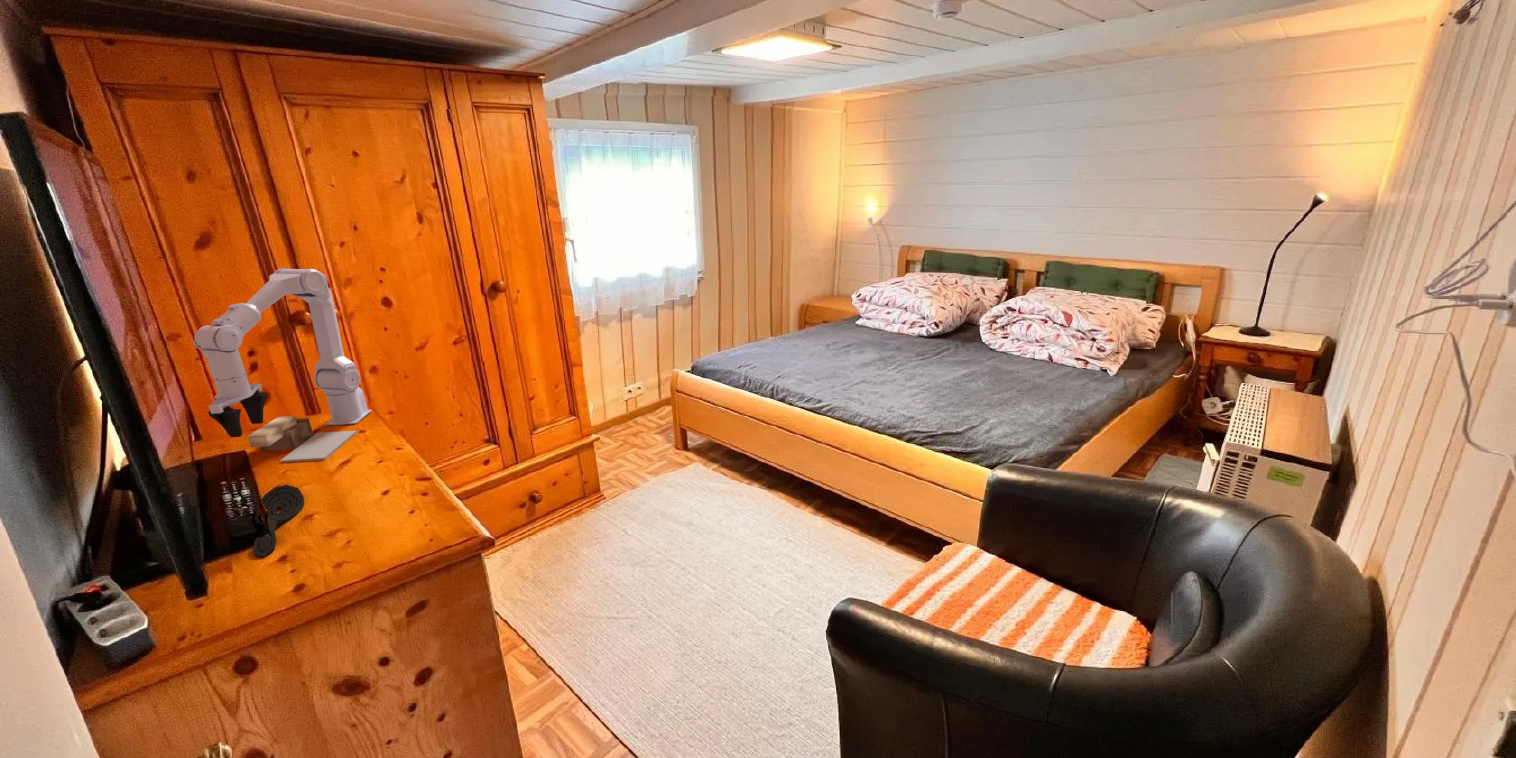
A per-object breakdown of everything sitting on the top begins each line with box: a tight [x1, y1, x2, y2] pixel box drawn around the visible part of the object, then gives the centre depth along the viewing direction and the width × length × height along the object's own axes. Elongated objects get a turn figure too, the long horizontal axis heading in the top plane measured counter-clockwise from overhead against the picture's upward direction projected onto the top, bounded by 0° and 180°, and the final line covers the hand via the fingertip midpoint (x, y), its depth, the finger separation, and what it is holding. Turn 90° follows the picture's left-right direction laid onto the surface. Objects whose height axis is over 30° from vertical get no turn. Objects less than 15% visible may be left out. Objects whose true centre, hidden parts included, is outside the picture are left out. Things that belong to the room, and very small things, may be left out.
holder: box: [259, 417, 314, 452], centre depth 153 cm, size 8×8×5 cm
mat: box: [280, 430, 358, 464], centre depth 152 cm, size 16×10×1 cm, turn 8°
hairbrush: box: [253, 482, 305, 559], centre depth 118 cm, size 8×4×25 cm
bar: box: [247, 415, 297, 448], centre depth 149 cm, size 12×4×3 cm, turn 8°
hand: (247, 429), depth 140 cm, fingers open, 7 cm apart
